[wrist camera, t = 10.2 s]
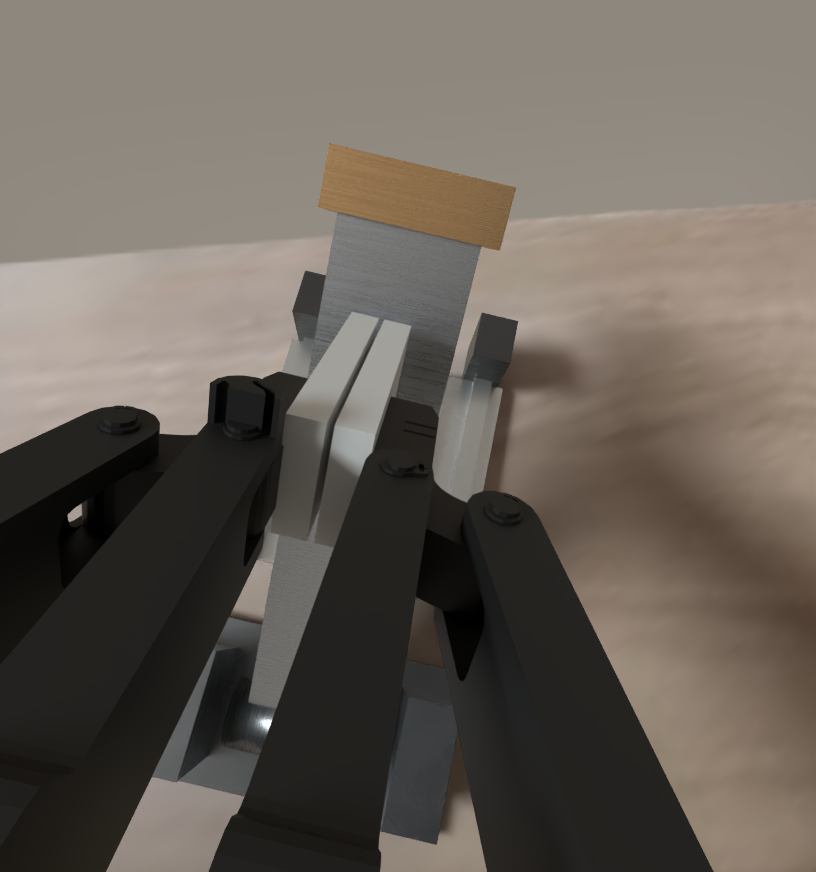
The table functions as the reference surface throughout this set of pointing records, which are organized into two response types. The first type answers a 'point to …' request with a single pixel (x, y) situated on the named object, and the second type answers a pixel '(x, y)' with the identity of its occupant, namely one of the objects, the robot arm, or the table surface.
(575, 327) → the table surface
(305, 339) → the bracket
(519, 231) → the table surface
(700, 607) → the table surface
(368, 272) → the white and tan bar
